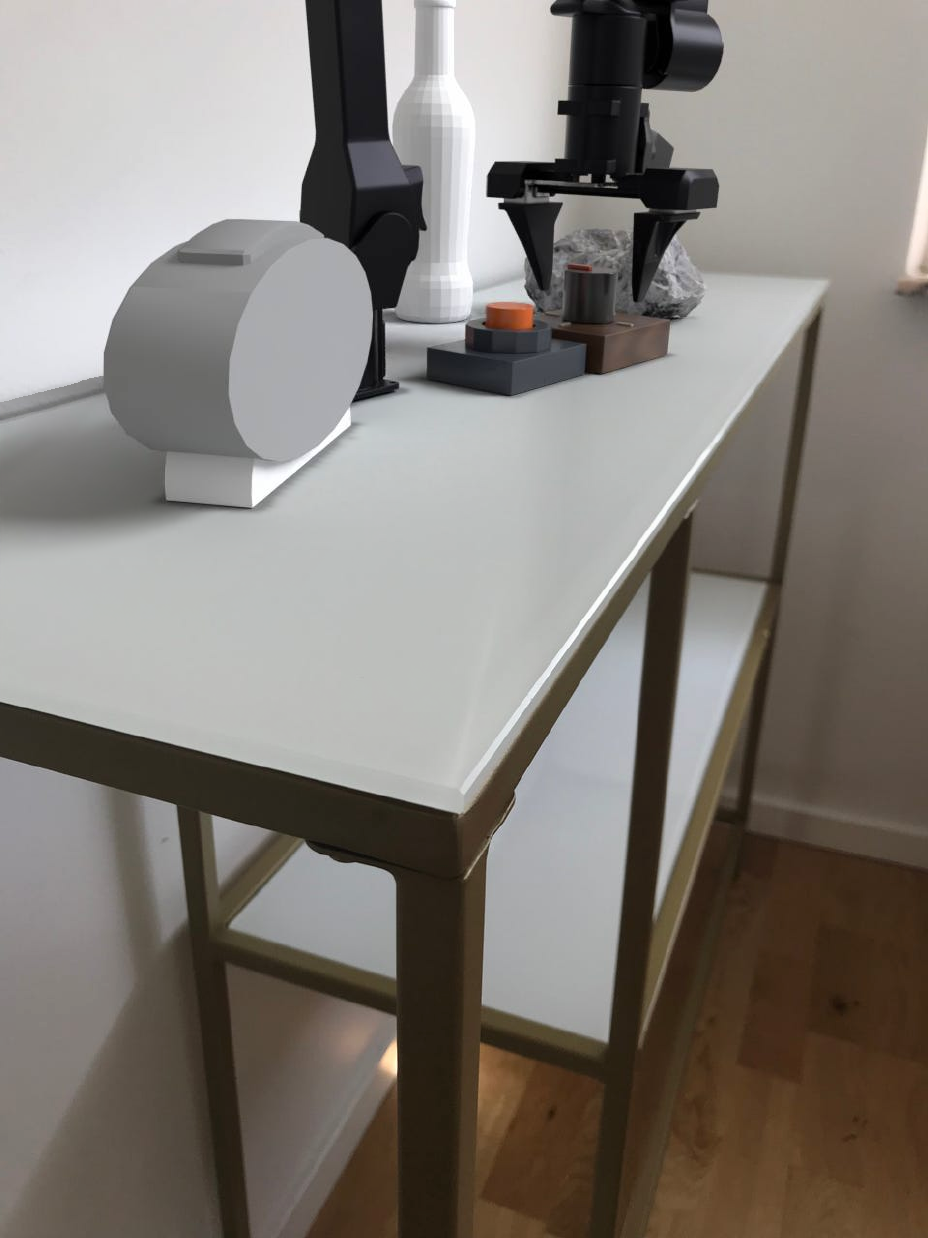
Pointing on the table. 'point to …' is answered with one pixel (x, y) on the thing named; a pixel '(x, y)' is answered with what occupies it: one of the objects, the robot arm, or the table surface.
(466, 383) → the button box
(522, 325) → the button
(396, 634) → the table surface
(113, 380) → the alarm clock
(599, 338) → the panel
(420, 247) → the bottle
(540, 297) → the rock
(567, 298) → the knob
